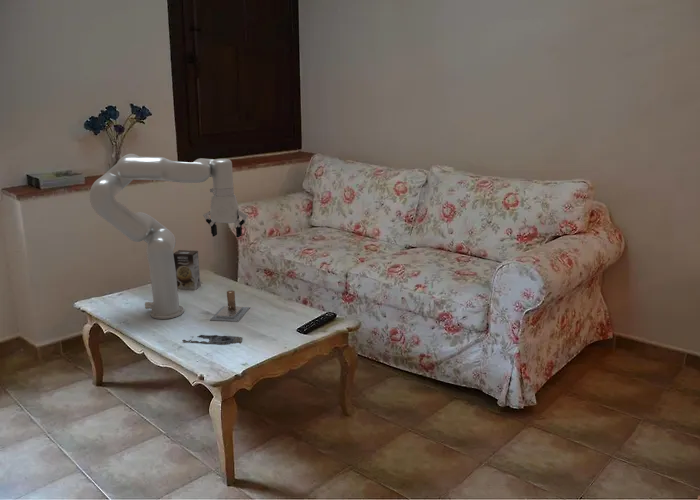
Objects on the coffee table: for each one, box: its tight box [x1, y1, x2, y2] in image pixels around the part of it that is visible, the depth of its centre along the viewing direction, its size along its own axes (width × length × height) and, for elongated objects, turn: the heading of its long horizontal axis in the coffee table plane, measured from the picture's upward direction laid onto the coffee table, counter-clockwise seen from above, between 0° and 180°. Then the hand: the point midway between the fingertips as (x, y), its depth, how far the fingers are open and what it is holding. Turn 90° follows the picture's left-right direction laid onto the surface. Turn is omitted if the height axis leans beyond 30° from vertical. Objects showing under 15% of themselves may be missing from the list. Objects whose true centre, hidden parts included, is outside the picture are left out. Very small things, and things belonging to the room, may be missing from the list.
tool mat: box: [209, 305, 251, 323], centre depth 250 cm, size 11×14×1 cm
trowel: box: [216, 289, 244, 319], centre depth 249 cm, size 7×10×8 cm
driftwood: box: [182, 334, 243, 346], centre depth 227 cm, size 21×7×2 cm, turn 79°
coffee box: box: [173, 249, 202, 291], centre depth 280 cm, size 9×6×16 cm
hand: (226, 236), depth 248 cm, fingers open, 9 cm apart
